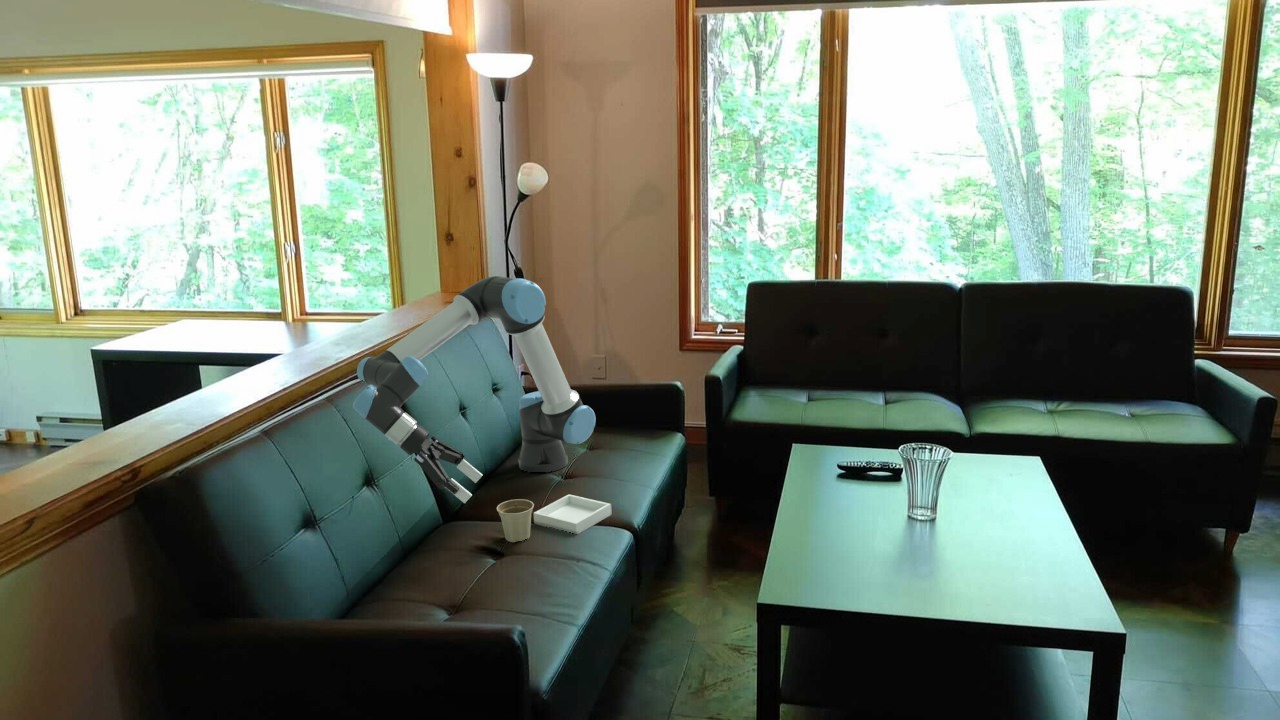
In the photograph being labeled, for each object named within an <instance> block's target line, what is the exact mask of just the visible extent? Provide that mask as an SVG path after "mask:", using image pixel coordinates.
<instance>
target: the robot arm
mask: <svg viewBox="0 0 1280 720" xmlns="http://www.w3.org/2000/svg"><path fill="white" fill-rule="evenodd" d="M546 305H547V302H546V297H545V293H544V291H543V290H542V289H541V287H540V286H539V285H538V284H537V283H536V282H534V281H531V280H529V279H528V280H527V279H525V278H520V277H519V278H518V277H517V278H516V277H515V278H512V277H506V276H505V277H503V276H500V275H499V276H496V275H493V276H488V277H486V278H483V279H481V280H478V281H476V282H475V283H473V284H471V285H470V286H468V287H467V288H465V289H463V290H462V291H461V292H459V293H458V294H457V295H455V296H454V297H453V302H452V303H450V304H449V305H447V306H446V307H445V308H443V309H442V310H440V311H439V312H438V313H437V314H435V315H433V316H432V317H430V318H429V319H427V320H426V321H425V322H423V323H422V324H421V325H420V326H418V327H416V328H415V329H414V330H412V331H411V332H410V333H408V334H407V335H405V336H404V337H402V338H401V339H400V340H398V341H397V342H396V343H394V344H393V345H391V346H390V347H388V348H387V349H386V350H384V351H383V352H381V353H380V354H378V355H376V356H368V357H367V356H366V357H365V358H362V359H361V360H360V361H359V363H358V365H357V366H356V367H357V369H356V374H357V378H358V379H359V381H360V380H363V381H365V383H367V384H369V385H366V387H365V389H363V390H362V392H361V393H359V395H358V396H357V397H356V398H355V399H354V400H353V403H352V408H353V410H355V411H356V412H357V414H359V415H360V416H361V417H362V418H363V420H366V421H367V422H368V423H370V425H372V426H373V427H375V428H376V429H377V430H378V431H379V432H381V434H383V435H384V436H385V437H386V438H387V440H388V441H391V442H392V443H394V444H395V445H399V447H400V448H399V449H401V450H402V451H404V453H406V454H407V455H409V456H413V455H414V453H415V454H416V456H415V457H414V458H413V461H415V463H417V464H418V465H419V466H420V467H421V469H422V470H423V471H424V473H425V474H426V475H427V476H428V477H429V479H430V480H431V481H432V482H433V483H434V485H435V486H436V487H437V488H438V489H439V490H443V489H444V488H445V489H446V490H448V491H449V492H450V493H452V495H454V496H455V497H456V498H457V499H459V501H461V502H462V503H463V504H466V503H467V501H468V500H470V498H471V497H472V496H473V494H472V493H471V492H470V491H469V490H467V489H466V488H465V487H464V486H462V485H461V484H460V483H459V482H458V481H456V479H454V478H450V477H449V475H448V474H447V471H446V470H445V469H444V467H443V465H442V464H441V462H440V460H442V461H444V462H447V463H450V464H453V465H456V468H457V469H458V470H459V471H460V472H461V473H463V474H464V475H465V476H466V477H468V479H470V480H471V481H472V482H474V484H476V483H478V481H479V480H480V479H481V478H482V476H483V473H482V472H480V471H479V470H478V469H477V468H475V467H474V466H473V465H472V464H471V463H469V462H468V461H467V460H466V459H464V458H465V457H466V454H464V453H463V452H462V451H460V450H459V449H456V448H455V447H453V446H450V445H449V444H447V443H446V442H444V441H442V440H441V439H439V438H437V437H436V436H435V435H432V436H430V431H429V430H428V429H426V428H425V427H424V426H423V425H422V424H417V423H418V421H417V420H416V419H415V418H413V417H412V416H411V415H410V414H408V413H407V412H406V411H405V410H403V409H402V408H401V407H402V406H403V405H404V404H405V402H407V401H408V399H409V398H410V397H411V396H412V395H413V394H414V393H415V392H416V391H417V389H419V388H420V387H421V386H422V384H423V382H424V381H425V380H426V378H427V377H428V376H429V373H428V369H427V368H426V366H425V364H423V363H422V361H421V360H422V359H424V358H425V357H426V356H428V355H429V354H431V353H432V352H434V351H435V350H436V349H438V348H439V347H441V346H442V345H444V343H446V342H447V341H449V340H450V339H451V338H453V337H454V336H456V335H457V334H458V333H460V332H461V331H463V330H464V329H466V327H468V326H469V325H471V326H475V325H477V324H478V323H480V322H481V321H483V320H486V319H490V318H491V319H492V318H493V319H497V320H500V322H501V323H502V326H503V328H504V330H505V332H506V334H508V335H511V336H513V337H514V339H515V341H516V343H517V346H518V348H519V350H520V353H521V356H523V359H524V361H525V364H526V366H527V368H528V371H529V372H530V374H531V376H532V379H533V381H534V383H535V385H536V388H537V391H533V392H529V393H526V394H524V395H521V397H520V398H519V401H518V403H519V404H518V411H519V419H520V429H521V431H520V432H521V442H522V444H521V448H520V453H519V457H518V468H519V469H520V470H521V471H522V470H524V471H523V472H525V471H529V472H528V473H530V472H546V473H550V472H551V471H552V472H555V471H558V470H562V469H563V468H565V467H566V466H567V465H568V464H569V459H568V454H567V452H566V451H565V448H564V445H563V442H564V443H567V444H574V445H579V444H583V443H584V442H586V441H587V440H588V439H590V436H592V434H593V432H594V429H595V427H596V419H597V418H596V414H595V412H594V410H593V409H592V408H591V407H590V406H589V405H584V404H583V401H582V399H581V397H580V394H579V393H578V392H577V390H574V389H571V386H570V384H569V383H568V380H567V378H566V375H565V373H564V370H563V369H562V366H561V364H560V362H559V360H558V357H557V355H556V352H555V350H554V348H553V345H552V342H551V341H550V338H549V336H548V333H547V331H546V330H545V327H544V325H543V322H544V320H545V318H546V317H545V312H546V311H545V310H546V308H545V306H546ZM429 436H430V438H428V437H429Z"/></svg>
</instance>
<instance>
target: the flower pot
mask: <svg viewBox="0 0 1280 720" xmlns="http://www.w3.org/2000/svg"><path fill="white" fill-rule="evenodd" d="M534 506H535V503H534V502H533V501H531V500H529V499H521V498H520V499H519V498H518V499H510V500H506V501H503V502H501V503H499V504H497V507H496V511H497V512H498V515H499V516H500V519H501V525H502V528H503V532H504V537H505V540H506V541H508V542H510V543H516V542H518V541H522V540H525V539H527V538H528V539H529V538H530V536H531V525H532V513H533V509H534ZM528 539H527V540H528ZM525 541H526V540H525ZM522 542H523V541H522Z"/></svg>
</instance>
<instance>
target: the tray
mask: <svg viewBox="0 0 1280 720" xmlns="http://www.w3.org/2000/svg"><path fill="white" fill-rule="evenodd" d="M532 513H533V523H534V525H538V526H542V527H546V526H547V528H549V527H553V528H556V529H555V530H557V529H559V530H558V531H561V530H564V531H563V532H565V531H567V532H566V533H569V532H571V533H570V534H572V533H575V534H574V535H576V534H577V535H579V534H580V533H582V532H585V531H586V530H588V529H589V528H591V527H593V526H594V525H597V524H598V523H600V522H601V521H602V520H605V519H607V518H609V517H610V516H612V513H613V512H612V503H608V502H605V501H600V500H595V499H591V498H586V497H582V496H578V495H573V494H567V495H565V496H563V497H561V498H559V499H557V500H555V501H553V502H551V503H549V504H548V505H546V506H544V507H542V508H540V509H538V510H536V511H534V512H532ZM553 528H552V529H553Z"/></svg>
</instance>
